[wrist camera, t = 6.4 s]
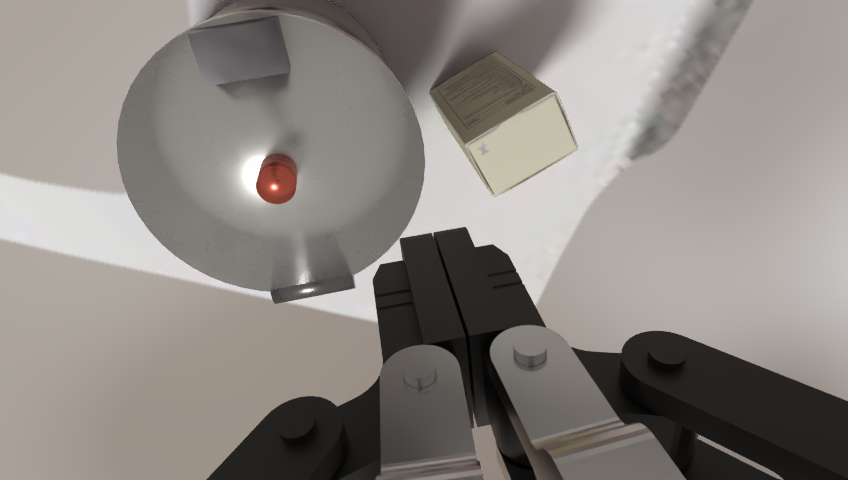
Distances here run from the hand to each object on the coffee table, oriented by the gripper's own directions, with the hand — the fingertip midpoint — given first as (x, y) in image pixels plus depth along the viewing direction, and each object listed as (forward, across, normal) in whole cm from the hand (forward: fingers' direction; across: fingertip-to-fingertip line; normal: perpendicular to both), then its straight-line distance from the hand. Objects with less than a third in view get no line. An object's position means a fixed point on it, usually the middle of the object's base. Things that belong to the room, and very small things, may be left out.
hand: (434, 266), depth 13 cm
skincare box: (+32, -8, +7) cm, 34 cm away
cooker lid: (+20, +6, +5) cm, 21 cm away
